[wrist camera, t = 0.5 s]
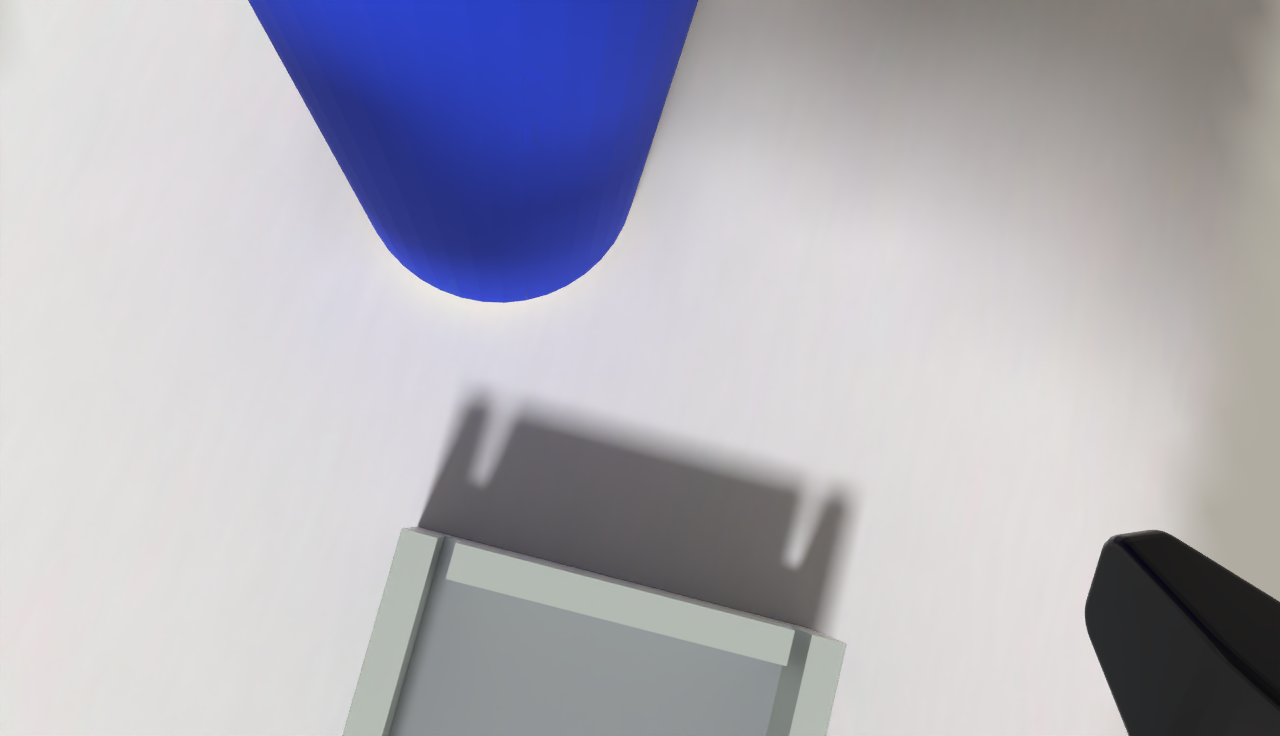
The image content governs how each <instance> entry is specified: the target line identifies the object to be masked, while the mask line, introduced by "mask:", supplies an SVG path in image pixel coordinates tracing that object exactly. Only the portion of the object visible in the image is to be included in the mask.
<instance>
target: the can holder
mask: <svg viewBox="0 0 1280 736" xmlns="http://www.w3.org/2000/svg"><path fill="white" fill-rule="evenodd" d="M845 648H846V643H843V642H841V641H839V640H836V639H834V638H832V637H829V636H827V635H824V634H822V633H820V632H817V631H815V630H812V629H810V628H806V627H802V626H798V625H794V624H791V623H787V622H783V621H779V620H775V619H771V618H767V617H764V616H760V615H756V614H752V613H748V612H744V611H740V610H737V609H733V608H729V607H725V606H721V605H717V604H713V603H710V602H706V601H702V600H698V599H694V598H690V597H686V596H682V595H679V594H675V593H671V592H667V591H663V590H659V589H655V588H652V587H648V586H644V585H640V584H636V583H632V582H628V581H625V580H621V579H617V578H613V577H609V576H605V575H601V574H597V573H594V572H590V571H586V570H582V569H578V568H574V567H570V566H567V565H563V564H559V563H555V562H551V561H547V560H543V559H540V558H536V557H532V556H528V555H524V554H520V553H516V552H512V551H509V550H505V549H501V548H497V547H493V546H489V545H485V544H482V543H478V542H474V541H470V540H466V539H462V538H458V537H455V536H451V535H447V534H443V533H439V532H435V531H431V530H427V529H424V528H420V527H412V528H404V529H402V530H401V533H400V537H399V540H398V544H397V547H396V551H395V554H394V558H393V561H392V565H391V568H390V572H389V575H388V579H387V582H386V586H385V589H384V593H383V596H382V600H381V603H380V607H379V610H378V613H377V617H376V620H375V624H374V627H373V631H372V634H371V638H370V641H369V645H368V648H367V652H366V655H365V659H364V662H363V666H362V669H361V673H360V676H359V680H358V683H357V687H356V690H355V694H354V697H353V700H352V704H351V707H350V711H349V714H348V718H347V721H346V725H345V728H344V732H343V735H342V736H826V733H827V728H828V724H829V719H830V715H831V711H832V706H833V702H834V697H835V693H836V688H837V684H838V679H839V675H840V671H841V666H842V662H843V657H844V653H845Z"/></svg>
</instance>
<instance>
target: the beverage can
mask: <svg viewBox="0 0 1280 736" xmlns="http://www.w3.org/2000/svg"><path fill="white" fill-rule="evenodd" d="M248 1H249V3H250V4H251V6H252V8H253V10H254V12H255V14H256V15H257V17H258V19H259V21H260V23H261V24H262V26H263V28H264V30H265V32H266V33H267V35H268V37H269V39H270V41H271V42H272V44H273V46H274V48H275V50H276V51H277V53H278V55H279V57H280V59H281V60H282V62H283V64H284V66H285V68H286V70H287V71H288V73H289V75H290V77H291V79H292V80H293V82H294V84H295V86H296V88H297V89H298V91H299V93H300V95H301V97H302V98H303V100H304V102H305V104H306V106H307V107H308V109H309V111H310V113H311V115H312V116H313V118H314V120H315V122H316V124H317V126H318V127H319V129H320V131H321V133H322V135H323V136H324V138H325V140H326V142H327V144H328V145H329V147H330V149H331V151H332V153H333V154H334V156H335V158H336V160H337V162H338V163H339V165H340V167H341V169H342V171H343V172H344V174H345V176H346V178H347V180H348V182H349V183H350V185H351V187H352V189H353V191H354V192H355V194H356V196H357V198H358V200H359V201H360V203H361V205H362V207H363V209H364V210H365V212H366V214H367V216H368V218H369V219H370V221H371V223H372V225H373V227H374V228H375V230H376V232H377V234H378V235H379V236H380V238H381V239H382V241H383V242H384V244H385V245H386V247H387V248H388V250H389V251H390V252H391V253H392V254H393V255H394V256H395V257H396V258H397V259H398V260H399V261H400V263H401V264H402V265H403V266H404V267H406V268H407V269H408V270H410V271H411V272H412V273H414V274H415V275H416V276H417V277H419V278H420V279H421V280H423V281H425V282H427V283H429V284H431V285H432V286H434V287H436V288H438V289H440V290H442V291H445V292H448V293H450V294H453V295H456V296H459V297H462V298H467V299H472V300H477V301H482V302H503V303H505V302H514V301H523V300H529V299H532V298H536V297H540V296H543V295H547V294H549V293H552V292H554V291H556V290H558V289H560V288H563V287H565V286H567V285H569V284H570V283H572V282H573V281H575V280H576V279H578V278H579V277H581V276H582V275H584V274H585V273H587V272H588V271H589V270H590V269H591V268H592V267H593V266H594V265H595V264H596V263H597V262H599V261H600V260H601V259H602V257H603V256H604V255H605V254H606V252H607V251H608V250H609V249H610V247H611V246H612V245H613V244H614V242H615V240H616V239H617V237H618V235H619V233H620V231H621V230H622V228H623V226H624V224H625V221H626V219H627V216H628V213H629V210H630V208H631V205H632V202H633V199H634V196H635V193H636V189H637V186H638V183H639V180H640V177H641V174H642V171H643V168H644V165H645V162H646V159H647V156H648V153H649V150H650V147H651V143H652V140H653V137H654V134H655V131H656V128H657V125H658V122H659V119H660V116H661V113H662V110H663V107H664V104H665V100H666V97H667V94H668V91H669V88H670V85H671V82H672V79H673V76H674V73H675V70H676V67H677V64H678V61H679V58H680V54H681V51H682V48H683V45H684V42H685V39H686V36H687V33H688V30H689V27H690V24H691V21H692V18H693V15H694V12H695V8H696V5H697V2H698V0H248Z"/></svg>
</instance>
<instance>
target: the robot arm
mask: <svg viewBox="0 0 1280 736" xmlns="http://www.w3.org/2000/svg"><path fill="white" fill-rule="evenodd" d="M1085 621H1086V627H1087V631H1088V634H1089V637H1090V640H1091V642H1092V645H1093V647H1094V650H1095V652H1096V655H1097V657H1098V660H1099V662H1100V665H1101V667H1102V670H1103V672H1104V675H1105V677H1106V680H1107V682H1108V685H1109V687H1110V690H1111V692H1112V695H1113V697H1114V700H1115V702H1116V705H1117V707H1118V710H1119V712H1120V715H1121V718H1122V720H1123V723H1124V725H1125V728H1126V730H1127V733H1128V735H1129V736H1280V602H1279V601H1277V600H1276V599H1274V598H1273V597H1271V596H1269V595H1268V594H1266V593H1265V592H1263V591H1261V590H1259V589H1258V588H1256V587H1255V586H1253V585H1252V584H1250V583H1248V582H1247V581H1245V580H1243V579H1242V578H1240V577H1239V576H1237V575H1235V574H1234V573H1232V572H1231V571H1229V570H1227V569H1226V568H1224V567H1223V566H1221V565H1219V564H1218V563H1216V562H1214V561H1213V560H1211V559H1210V558H1208V557H1206V556H1205V555H1203V554H1202V553H1200V552H1198V551H1197V550H1195V549H1193V548H1192V547H1190V546H1189V545H1187V544H1185V543H1184V542H1182V541H1181V540H1179V539H1177V538H1176V537H1174V536H1172V535H1170V534H1168V533H1166V532H1163V531H1160V530H1146V531H1140V532H1133V533H1126V534H1120V535H1115V536H1113V537H1111V538H1110V539H1109V540H1108V541H1107V542H1106V543H1105V544H1104V546H1103V548H1102V551H1101V554H1100V558H1099V561H1098V564H1097V568H1096V571H1095V574H1094V577H1093V581H1092V584H1091V587H1090V591H1089V594H1088V597H1087V600H1086V605H1085Z"/></svg>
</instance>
